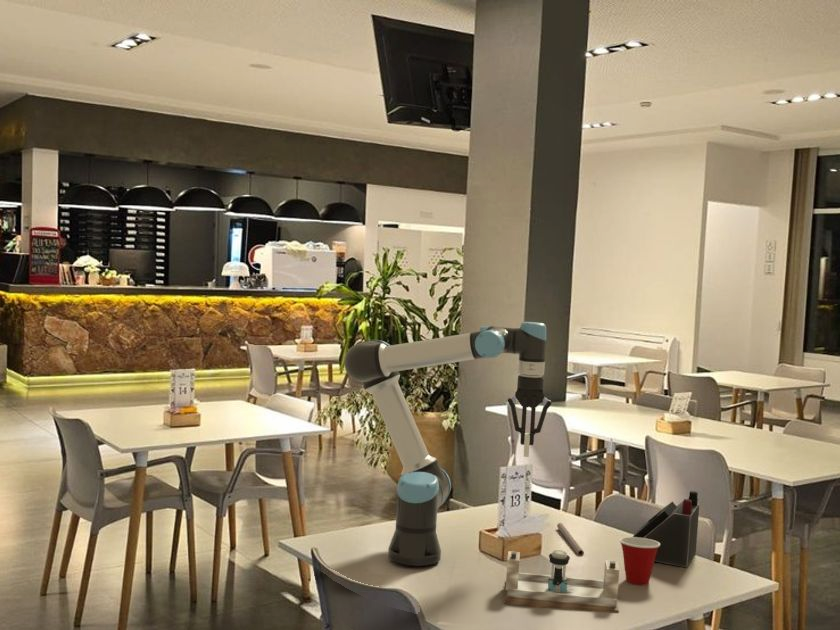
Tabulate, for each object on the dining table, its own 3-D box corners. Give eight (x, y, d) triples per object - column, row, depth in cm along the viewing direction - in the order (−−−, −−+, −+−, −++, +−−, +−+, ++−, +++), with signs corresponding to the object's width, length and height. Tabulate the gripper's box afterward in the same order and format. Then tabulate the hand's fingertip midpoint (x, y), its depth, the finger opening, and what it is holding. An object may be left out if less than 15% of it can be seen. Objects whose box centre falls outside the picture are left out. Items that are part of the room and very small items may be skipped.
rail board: (504, 603, 225) (506, 561, 224) (507, 580, 241) (509, 540, 241) (618, 615, 221) (621, 572, 220) (613, 590, 238) (615, 550, 237)
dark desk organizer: (640, 546, 278) (645, 482, 276) (695, 556, 270) (700, 491, 269) (629, 561, 263) (633, 493, 262) (686, 572, 256) (691, 503, 255)
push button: (572, 588, 233) (574, 550, 233) (573, 595, 228) (575, 557, 228) (546, 585, 234) (548, 548, 234) (547, 593, 229) (549, 554, 228)
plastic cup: (653, 578, 249) (656, 535, 249) (661, 592, 239) (664, 547, 238) (614, 575, 250) (616, 532, 249) (619, 589, 239) (622, 544, 239)
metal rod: (577, 556, 266) (577, 549, 266) (557, 528, 293) (557, 522, 293) (583, 556, 266) (584, 549, 266) (562, 528, 293) (563, 522, 293)
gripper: (507, 375, 257) (503, 456, 259) (553, 378, 256) (548, 460, 257) (508, 372, 265) (504, 451, 266) (553, 375, 263) (548, 455, 264)
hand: (526, 455), depth 262 cm, fingers closed
